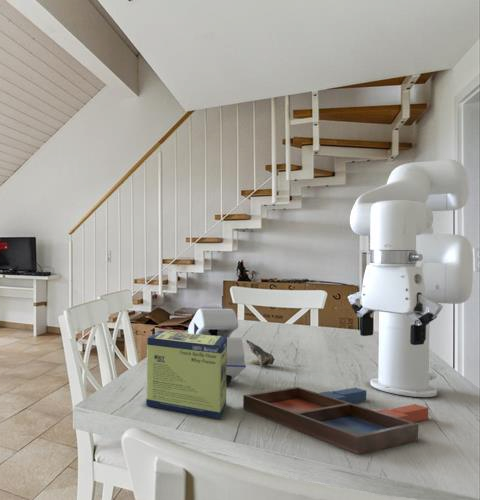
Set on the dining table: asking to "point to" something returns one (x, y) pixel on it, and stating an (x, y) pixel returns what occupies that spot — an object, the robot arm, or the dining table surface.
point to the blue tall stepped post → (348, 395)
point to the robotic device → (221, 325)
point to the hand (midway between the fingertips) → (390, 339)
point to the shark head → (260, 355)
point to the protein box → (187, 373)
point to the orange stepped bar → (408, 412)
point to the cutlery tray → (332, 419)
